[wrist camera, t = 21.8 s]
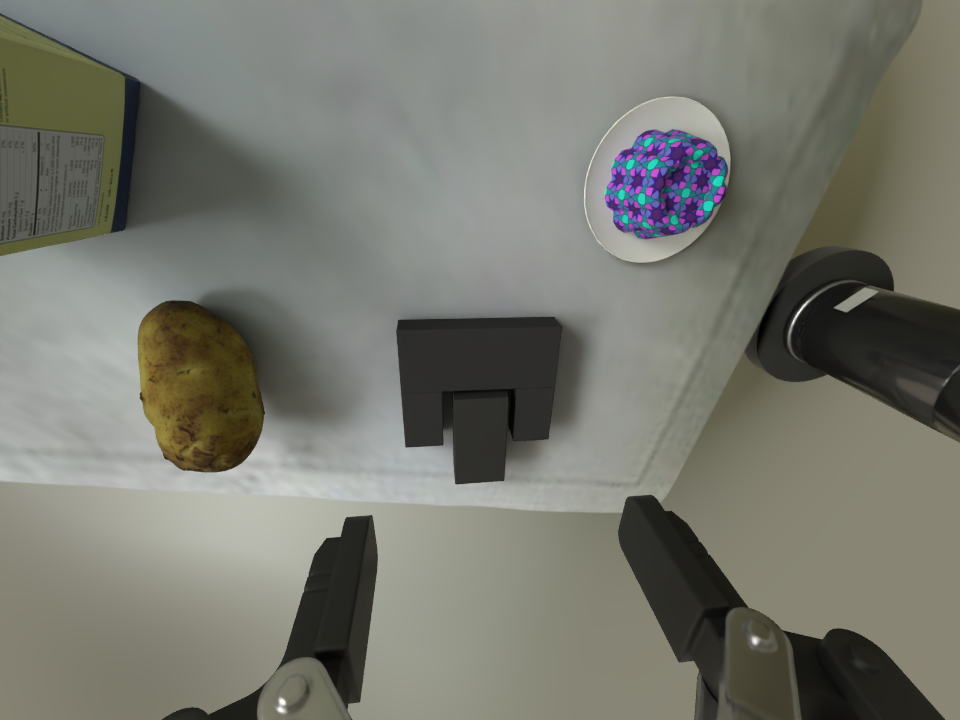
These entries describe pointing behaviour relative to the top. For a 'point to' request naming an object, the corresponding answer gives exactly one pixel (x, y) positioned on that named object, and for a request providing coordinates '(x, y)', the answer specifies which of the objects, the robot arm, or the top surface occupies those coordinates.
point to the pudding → (657, 179)
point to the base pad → (477, 370)
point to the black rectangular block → (479, 435)
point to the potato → (198, 387)
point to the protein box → (61, 141)
